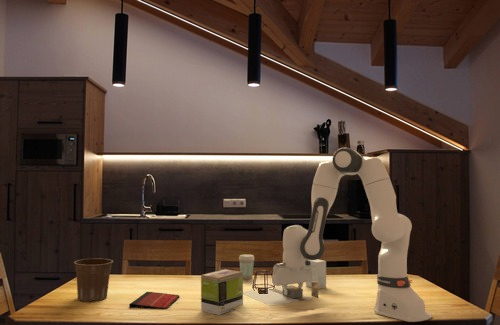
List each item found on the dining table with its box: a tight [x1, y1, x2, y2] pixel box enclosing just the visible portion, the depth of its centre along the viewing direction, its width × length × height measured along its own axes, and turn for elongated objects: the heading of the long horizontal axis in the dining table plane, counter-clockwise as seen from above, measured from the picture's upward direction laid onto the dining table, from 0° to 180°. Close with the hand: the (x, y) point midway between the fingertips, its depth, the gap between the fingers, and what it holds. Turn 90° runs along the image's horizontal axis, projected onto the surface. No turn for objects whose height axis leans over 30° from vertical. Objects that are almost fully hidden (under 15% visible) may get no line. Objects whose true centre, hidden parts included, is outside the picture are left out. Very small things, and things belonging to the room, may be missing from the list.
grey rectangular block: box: [283, 284, 304, 299], centre depth 202 cm, size 8×5×4 cm, turn 32°
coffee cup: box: [238, 253, 255, 280], centre depth 246 cm, size 8×8×12 cm
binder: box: [128, 291, 180, 310], centre depth 196 cm, size 16×2×21 cm
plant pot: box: [73, 258, 114, 302], centre depth 201 cm, size 16×16×16 cm
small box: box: [305, 259, 327, 290], centre depth 227 cm, size 8×6×13 cm
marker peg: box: [310, 281, 319, 298], centre depth 206 cm, size 3×3×7 cm
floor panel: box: [243, 286, 313, 307], centre depth 203 cm, size 26×22×2 cm
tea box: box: [200, 268, 244, 316], centre depth 186 cm, size 15×10×15 cm, turn 141°
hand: (292, 293), depth 202 cm, fingers closed on grey rectangular block, 5 cm apart
